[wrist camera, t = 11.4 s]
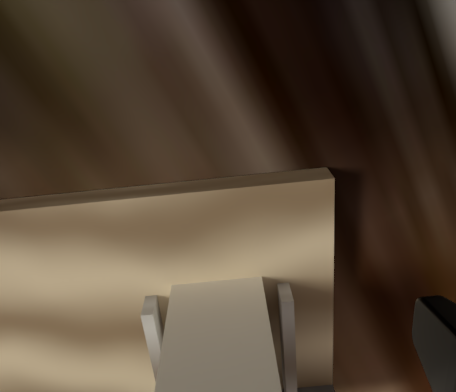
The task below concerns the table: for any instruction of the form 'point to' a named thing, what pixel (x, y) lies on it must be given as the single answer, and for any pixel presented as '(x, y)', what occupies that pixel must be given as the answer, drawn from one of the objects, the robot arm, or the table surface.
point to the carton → (218, 339)
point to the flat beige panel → (161, 276)
